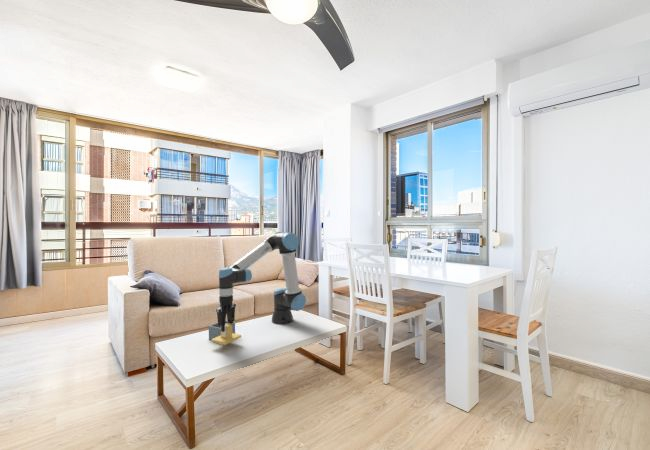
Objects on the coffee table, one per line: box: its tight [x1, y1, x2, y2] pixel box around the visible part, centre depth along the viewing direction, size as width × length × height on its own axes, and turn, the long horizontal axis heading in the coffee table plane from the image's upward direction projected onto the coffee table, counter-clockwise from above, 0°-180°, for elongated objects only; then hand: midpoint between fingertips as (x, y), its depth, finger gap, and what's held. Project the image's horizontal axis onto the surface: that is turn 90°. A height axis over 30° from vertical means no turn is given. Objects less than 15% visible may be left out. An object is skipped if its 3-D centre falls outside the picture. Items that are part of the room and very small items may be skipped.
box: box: [208, 320, 236, 340], centre depth 192 cm, size 12×10×8 cm
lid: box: [210, 324, 242, 346], centre depth 178 cm, size 13×11×9 cm
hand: (226, 335), depth 178 cm, fingers closed on lid, 3 cm apart
